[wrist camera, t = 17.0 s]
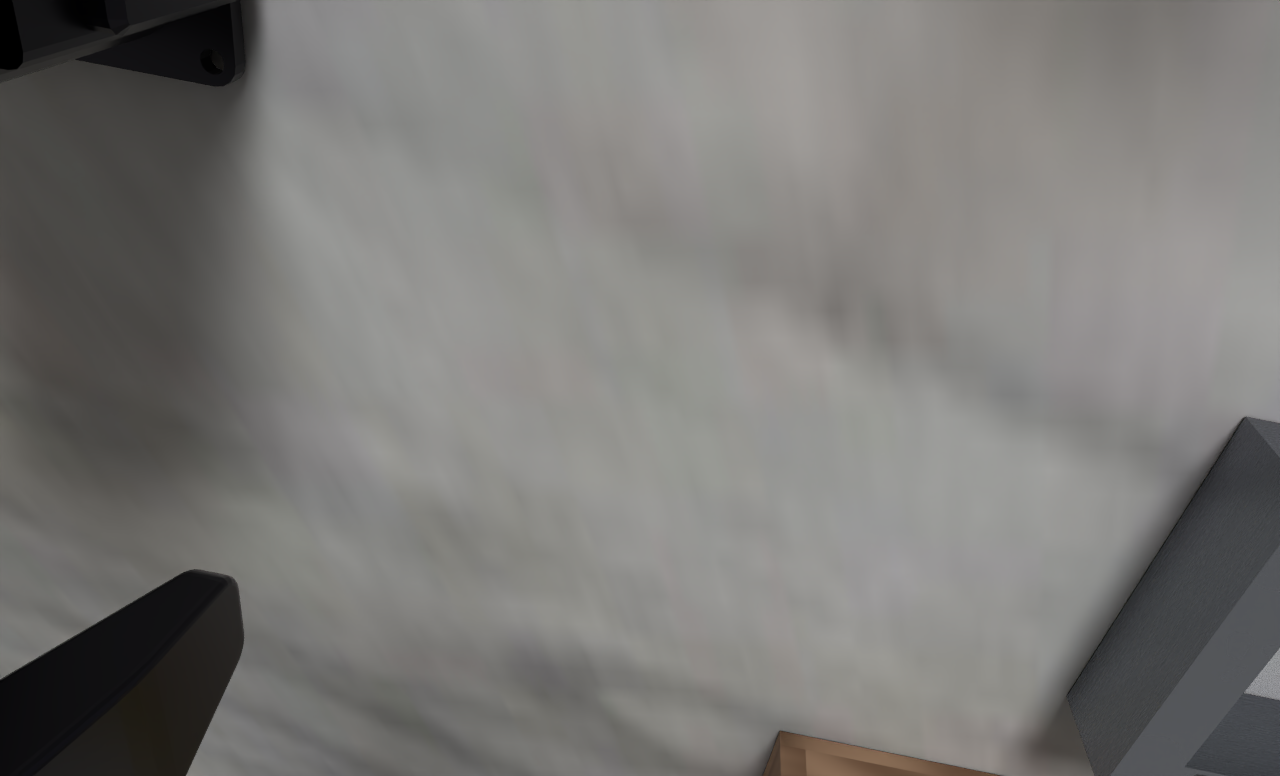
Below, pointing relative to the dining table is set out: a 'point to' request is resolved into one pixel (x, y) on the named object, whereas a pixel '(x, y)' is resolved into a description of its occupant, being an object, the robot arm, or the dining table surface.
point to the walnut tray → (848, 760)
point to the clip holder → (1197, 635)
